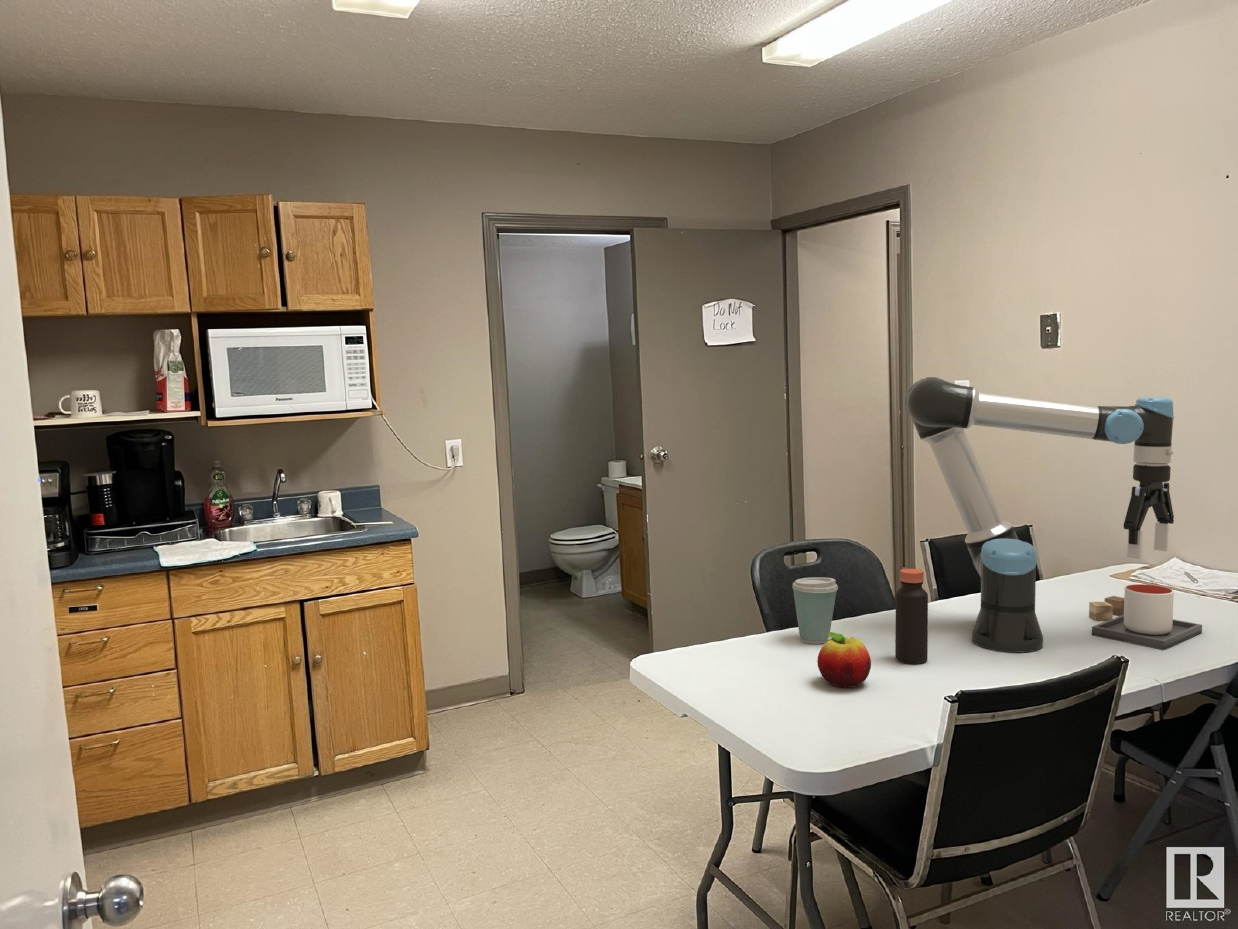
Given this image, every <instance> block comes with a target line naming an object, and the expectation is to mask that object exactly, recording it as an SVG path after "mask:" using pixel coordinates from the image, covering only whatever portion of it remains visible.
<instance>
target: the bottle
mask: <svg viewBox="0 0 1238 929" xmlns="http://www.w3.org/2000/svg"><path fill="white" fill-rule="evenodd" d="M924 573H925V572H924V570H922V569H919V568H902V569H900V570H899V580H900V581H899V582H900V584H901V586H900V587H899V588H898V589H897V591H896V592H895V624H894V625H895V628H894V629H895V632H894V633H895V638H894V639H895V641H894V642H895V647H894V648H895V650H894V652H895V660H896V661H898V662H900V663H902V664H908V665H921V664H924V663H926V662H927V661H928V658H929V656H928V653H929V652H928V647H929V644H928V641H929V640H928V639H929V638H928V636H929V635H928V634H929V632H928V630H929V629H928V628H929V627H928V626H929V625H928V624H929V620H928V619H929V615H928V614H929V594H928V592H927V591H926V589H924V588H923V584H924V576H925V575H924Z"/></svg>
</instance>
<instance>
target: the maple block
mask: <svg viewBox="0 0 1238 929" xmlns="http://www.w3.org/2000/svg"><path fill="white" fill-rule="evenodd" d="M1088 604H1089V605H1088V606H1089V607H1088V617H1089V619H1092V620H1093V621H1095V622H1106V621H1108V620H1111V619H1113V618H1114V615H1113V606H1112V605H1111V604H1109V603H1107V602H1105V601H1089V602H1088Z"/></svg>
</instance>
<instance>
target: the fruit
mask: <svg viewBox="0 0 1238 929" xmlns="http://www.w3.org/2000/svg"><path fill="white" fill-rule="evenodd" d="M826 635H827V636H829V638H830V639H828V641H827V642H826V643H823V645H822V646H821V648H820V650H819V651H818V652H819V653H818V655H817V661H816V662H817V668H818V670H819V673H820V675H821V676H822V678H823V679H824V681H826V682H827V683H828V684H829V685H831V686H833V687H836V688H837V687H838V688H855V687H858V686H860V685H861V684H862V683H864V682H865V681H866V680H867V678H868V676H869V674H870V671H871V668H872V659H871V656H870V653H869V651H868V648H867V647H866V645H865V643H864V642H862V641H861V640H860V639H859V638H856V637H845V635H844V634H842V633H838V632H834V631H830V632H828V633H827V634H826Z"/></svg>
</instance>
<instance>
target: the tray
mask: <svg viewBox="0 0 1238 929" xmlns="http://www.w3.org/2000/svg"><path fill="white" fill-rule="evenodd" d="M1202 633H1203V624H1200V623H1195V622H1189V621H1183V620H1179V619H1173V624H1172V630H1171V631H1170V632H1169V633H1167V634H1163V635H1146V634H1140V633H1136V632H1133V631H1130V630H1128V629H1127V628H1126V627H1125V626H1124V615H1121V616H1116V617H1113V619H1111V620H1108V621H1102V622H1101V623H1097V624H1095V625H1092V626H1091V636H1094V637H1095V636H1096V637H1098V638H1099V637H1100V638H1105V639H1110V640H1114V641H1119V642H1124V643H1129V644H1132V645H1133V644H1134V645H1138V646H1143V647H1147V648H1152V649H1157V650H1162V651H1164V650H1168V649H1170V648H1172V647H1174V646H1176V645H1179V644H1181V643H1183V642H1185V641H1187V640H1190V639H1192V638H1194V637H1196V636H1199V635H1200V634H1202Z"/></svg>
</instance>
